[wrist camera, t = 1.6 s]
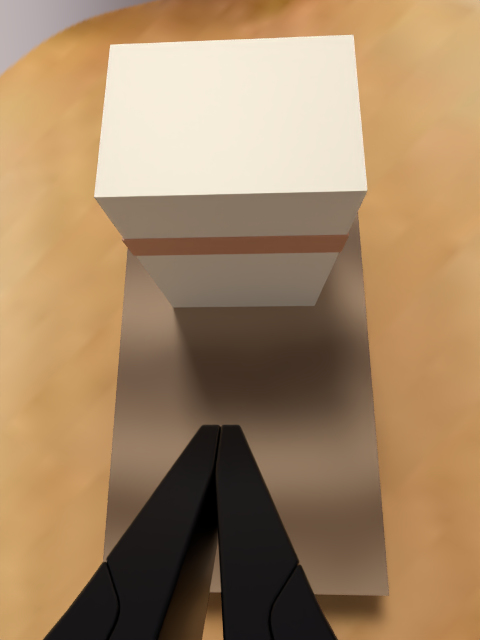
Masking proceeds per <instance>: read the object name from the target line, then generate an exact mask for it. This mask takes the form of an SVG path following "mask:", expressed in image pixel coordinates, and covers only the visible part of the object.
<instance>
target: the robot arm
mask: <svg viewBox="0 0 480 640" xmlns="http://www.w3.org/2000/svg"><path fill="white" fill-rule="evenodd" d="M217 544H218V546H219V564H220V583H221V601H222V620H223V638H224V640H338V639H337V637H336V636H335V634H334V632H333V630H332V628H331V626H330V624H329V623H328V621H327V619H326V617H325V615H324V613H323V611H322V609H321V607H320V604H319V602H318V600H317V598H316V596H315V594H314V592H313V590H312V588H311V586H310V583H309V581H308V579H307V576H306V574H305V572H304V570H303V567H302V565H300V564H299V563H300V561H299V559H298V556H297V554H296V552H295V550H294V547H293V545H292V543H291V540H290V538H289V536H288V533H287V531H286V529H285V527H284V524H283V522H282V520H281V517H280V515H279V513H278V511H277V508H276V506H275V504H274V501H273V499H272V497H271V495H270V492H269V490H268V488H267V485H266V483H265V481H264V479H263V476H262V474H261V472H260V469H259V467H258V465H257V463H256V460H255V458H254V456H253V453H252V451H251V449H250V447H249V444H248V442H247V440H246V437H245V435H244V433H243V431H242V428H241V427H240V425H222V426H221V427H220V426H219V425H202V426H201V427H200V428H199V429H198V431H197V432H196V433H195V435H194V436H193V438H192V439H191V440H190V442H189V443H188V445H187V446H186V447H185V449H184V450H183V452H182V453H181V454H180V456H179V457H178V458H177V460H176V461H175V463H174V464H173V465H172V467H171V468H170V470H169V471H168V472H167V474H166V475H165V477H164V478H163V479H162V481H161V482H160V484H159V485H158V486H157V488H156V489H155V491H154V492H153V493H152V495H151V496H150V497H149V499H148V500H147V502H146V503H145V504H144V506H143V507H142V509H141V510H140V511H139V513H138V514H137V516H136V517H135V518H134V520H133V521H132V523H131V524H130V525H129V527H128V528H127V530H126V531H125V532H124V534H123V535H122V536H121V538H120V539H119V541H118V542H117V543H116V545H115V546H114V548H113V549H112V550H111V552H110V553H109V555H108V556H107V557H106V561H107V562H103V563H102V564H101V565H100V567H99V568H98V570H97V571H96V572H95V574H94V575H93V577H92V578H91V579H90V581H89V582H88V584H87V585H86V586H85V587H84V589H83V590H82V591H81V593H80V594H79V595H78V597H77V598H76V599H75V601H74V602H73V603H72V605H71V606H70V607H69V609H68V610H67V611H66V612H65V614H64V615H63V616H62V617H61V618H60V620H59V621H58V622H57V623H56V624H55V626H54V627H53V628H52V629H51V630H50V632H49V633H48V634H47V635H46V636H45V638H44V639H43V640H202V635H203V629H204V623H205V617H206V611H207V605H208V599H209V593H210V587H211V580H212V574H213V568H214V562H215V556H216V550H217Z"/></svg>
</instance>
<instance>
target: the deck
mask: <svg viewBox="0 0 480 640" xmlns="http://www.w3.org/2000/svg"><path fill="white" fill-rule="evenodd" d="M202 425H219V426H220V427H221V426H222V425H240V427H241V428H242V431H243V433H244V435H245V437H246V440H247V442H248V444H249V447H250V449H251V451H252V453H253V456H254V458H255V460H256V463H257V465H258V467H259V469H260V472H261V474H262V476H263V479H264V481H265V483H266V485H267V488H268V490H269V492H270V495H271V497H272V499H273V501H274V504H275V506H276V508H277V511H278V513H279V515H280V517H281V520H282V522H283V524H284V527H285V529H286V531H287V533H288V536H289V538H290V540H291V543H292V545H293V547H294V550H295V552H296V554H297V556H298V559H299V561H300V563H299V564H300V565H302V567H303V570H304V572H305V574H306V576H307V579H308V581H309V583H310V586H311V588H312V590H313V592H314V594H325V595H377V596H389V587H388V575H387V563H386V550H385V538H384V526H383V514H382V501H381V489H380V477H379V465H378V453H377V440H376V428H375V416H374V404H373V391H372V379H371V367H370V355H369V343H368V330H367V318H366V306H365V294H364V281H363V269H362V257H361V245H360V233H359V220H358V212H357V214H356V216H355V219H354V221H353V223H352V225H351V227H350V230H349V237H348V239H347V241H346V243H345V245H344V248H343V250H342V252H339V254H338V256H337V258H336V260H335V262H334V264H333V267H332V269H331V271H330V273H329V275H328V278H327V280H326V282H325V284H324V286H323V288H322V291H321V293H320V295H319V297H318V299H317V302H316V304H315V306H260V307H175V308H173V307H172V305H171V304H170V302H169V301H168V300H167V298H166V297H165V295H164V294H163V293H162V291H161V290H160V288H159V287H158V286H157V284H156V283H155V281H154V280H153V279H152V277H151V276H150V275H149V273H148V272H147V270H146V269H145V268H144V266H143V265H142V263H141V262H140V261H139V259H138V258H137V256H133V254H132V253H131V252H130V250H129V249H128V251H127V264H126V277H125V290H124V302H123V315H122V328H121V340H120V353H119V366H118V378H117V391H116V404H115V416H114V429H113V442H112V454H111V467H110V480H109V492H108V505H107V518H106V530H105V543H104V556H103V562H107V561H106V557H107V556H108V555H109V553H110V552H111V550H112V549H113V548H114V546H115V545H116V543H117V542H118V541H119V539H120V538H121V536H122V535H123V534H124V532H125V531H126V530H127V528H128V527H129V525H130V524H131V523H132V521H133V520H134V518H135V517H136V516H137V514H138V513H139V511H140V510H141V509H142V507H143V506H144V504H145V503H146V502H147V500H148V499H149V497H150V496H151V495H152V493H153V492H154V491H155V489H156V488H157V486H158V485H159V484H160V482H161V481H162V479H163V478H164V477H165V475H166V474H167V472H168V471H169V470H170V468H171V467H172V465H173V464H174V463H175V461H176V460H177V458H178V457H179V456H180V454H181V453H182V452H183V450H184V449H185V447H186V446H187V445H188V443H189V442H190V440H191V439H192V438H193V436H194V435H195V433H196V432H197V431H198V429H199V428H200V427H201V426H202ZM210 592H221V583H220V564H219V546H218V544H217V550H216V556H215V562H214V568H213V574H212V580H211V587H210Z"/></svg>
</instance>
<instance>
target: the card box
mask: <svg viewBox="0 0 480 640" xmlns="http://www.w3.org/2000/svg"><path fill="white" fill-rule="evenodd" d="M366 192H367V182H366V171H365V159H364V148H363V137H362V126H361V115H360V104H359V93H358V82H357V70H356V59H355V48H354V37H353V35H338V36H313V37H289V38H264V39H240V40H215V41H191V42H166V43H142V44H117V45H110V53H109V62H108V72H107V81H106V91H105V100H104V109H103V119H102V128H101V138H100V147H99V157H98V166H97V176H96V185H95V195H94V198H95V199H96V200H97V202H98V203H99V205H100V206H101V207H102V209H103V210H104V212H105V213H106V214H107V216H108V217H109V219H110V220H111V221H112V223H113V224H114V226H115V227H116V228H117V230H118V231H119V233H120V234H121V235H122V237H123V238H122V241H123V242H124V243H125V245H126V246H127V247H128V249H129V250H130V252H131V253H132V254H133V256H137V258H138V259H139V261H140V262H141V263H142V265H143V266H144V268H145V269H146V270H147V272H148V273H149V275H150V276H151V277H152V279H153V280H154V281H155V283H156V284H157V286H158V287H159V288H160V290H161V291H162V293H163V294H164V295H165V297H166V298H167V300H168V301H169V302H170V304H171V305H172V307H173V308H175V307H260V306H315V304H316V302H317V299H318V297H319V295H320V293H321V291H322V288H323V286H324V284H325V282H326V280H327V278H328V275H329V273H330V271H331V269H332V267H333V264H334V262H335V260H336V258H337V256H338V254H339V252H342V250H343V248H344V245H345V243H346V241H347V239H348V237H349V230H350V227H351V225H352V223H353V221H354V219H355V216H356V214H357V212H358V210H359V208H360V206H361V203H362V201H363V199H364V197H365V195H366Z"/></svg>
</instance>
